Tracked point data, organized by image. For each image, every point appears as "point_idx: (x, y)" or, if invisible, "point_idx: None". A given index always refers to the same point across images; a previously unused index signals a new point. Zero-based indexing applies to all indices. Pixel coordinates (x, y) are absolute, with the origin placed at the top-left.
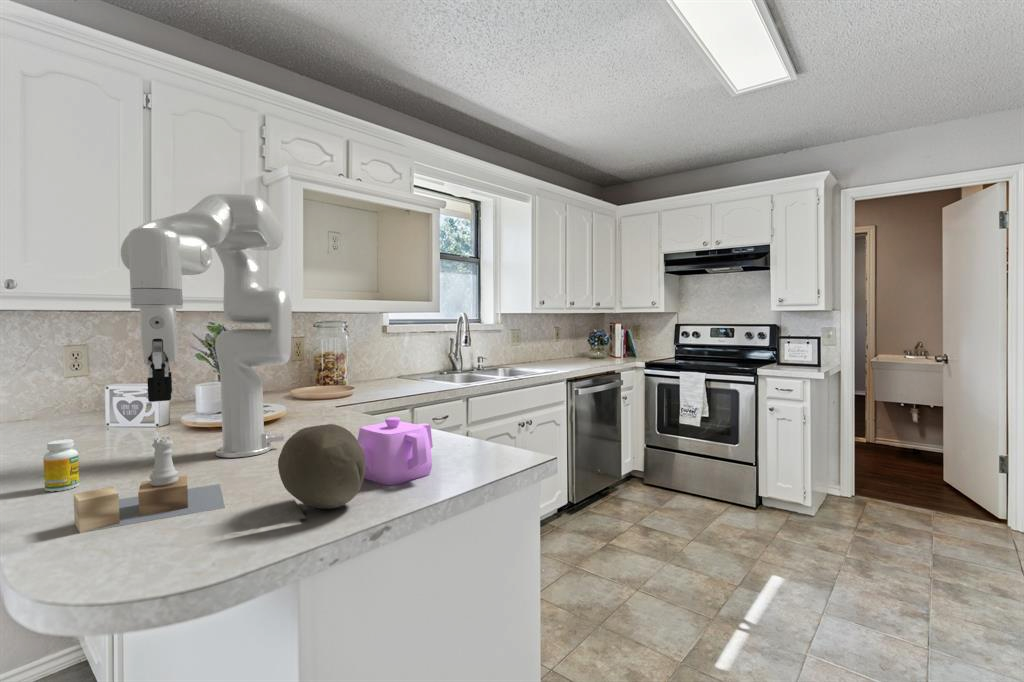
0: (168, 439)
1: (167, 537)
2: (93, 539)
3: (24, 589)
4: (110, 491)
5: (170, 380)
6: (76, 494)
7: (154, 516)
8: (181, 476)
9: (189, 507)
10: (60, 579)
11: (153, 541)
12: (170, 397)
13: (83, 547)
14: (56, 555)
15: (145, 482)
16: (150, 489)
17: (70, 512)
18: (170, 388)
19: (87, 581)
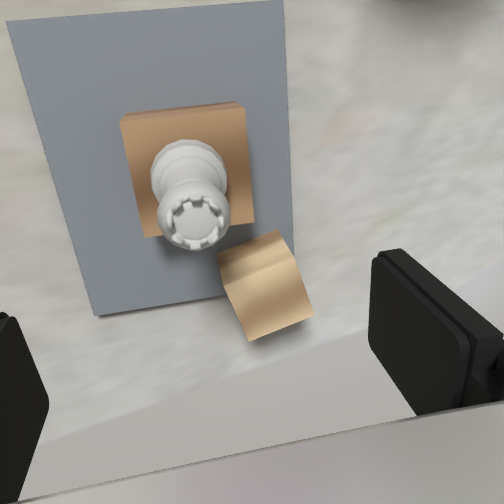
0: (214, 201)
1: (382, 125)
2: (312, 253)
3: (466, 280)
4: (268, 277)
5: (478, 315)
6: (256, 335)
7: (265, 170)
8: (126, 137)
9: (234, 97)
10: (463, 248)
11: (388, 148)
12: (406, 254)
13: (345, 257)
14: (359, 284)
15: (155, 225)
16: (238, 199)
17: (113, 340)
18: (439, 282)
19: (497, 211)
